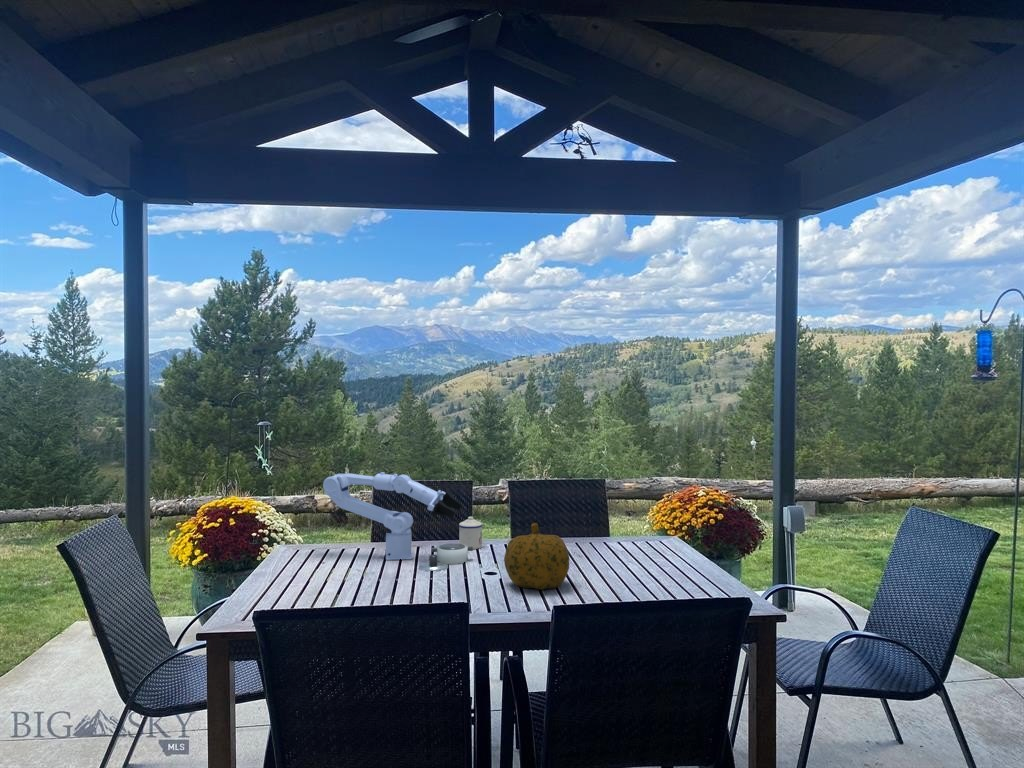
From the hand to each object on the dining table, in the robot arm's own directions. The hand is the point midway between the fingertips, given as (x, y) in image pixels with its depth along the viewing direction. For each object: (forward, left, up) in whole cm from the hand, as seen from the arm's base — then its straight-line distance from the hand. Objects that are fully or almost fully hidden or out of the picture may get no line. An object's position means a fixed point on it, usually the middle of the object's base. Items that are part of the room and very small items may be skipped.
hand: (457, 510), depth 261 cm
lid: (-9, -10, -18) cm, 22 cm away
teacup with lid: (+6, +20, -18) cm, 27 cm away
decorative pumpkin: (+23, -36, -18) cm, 46 cm away
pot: (-2, -1, -17) cm, 18 cm away
